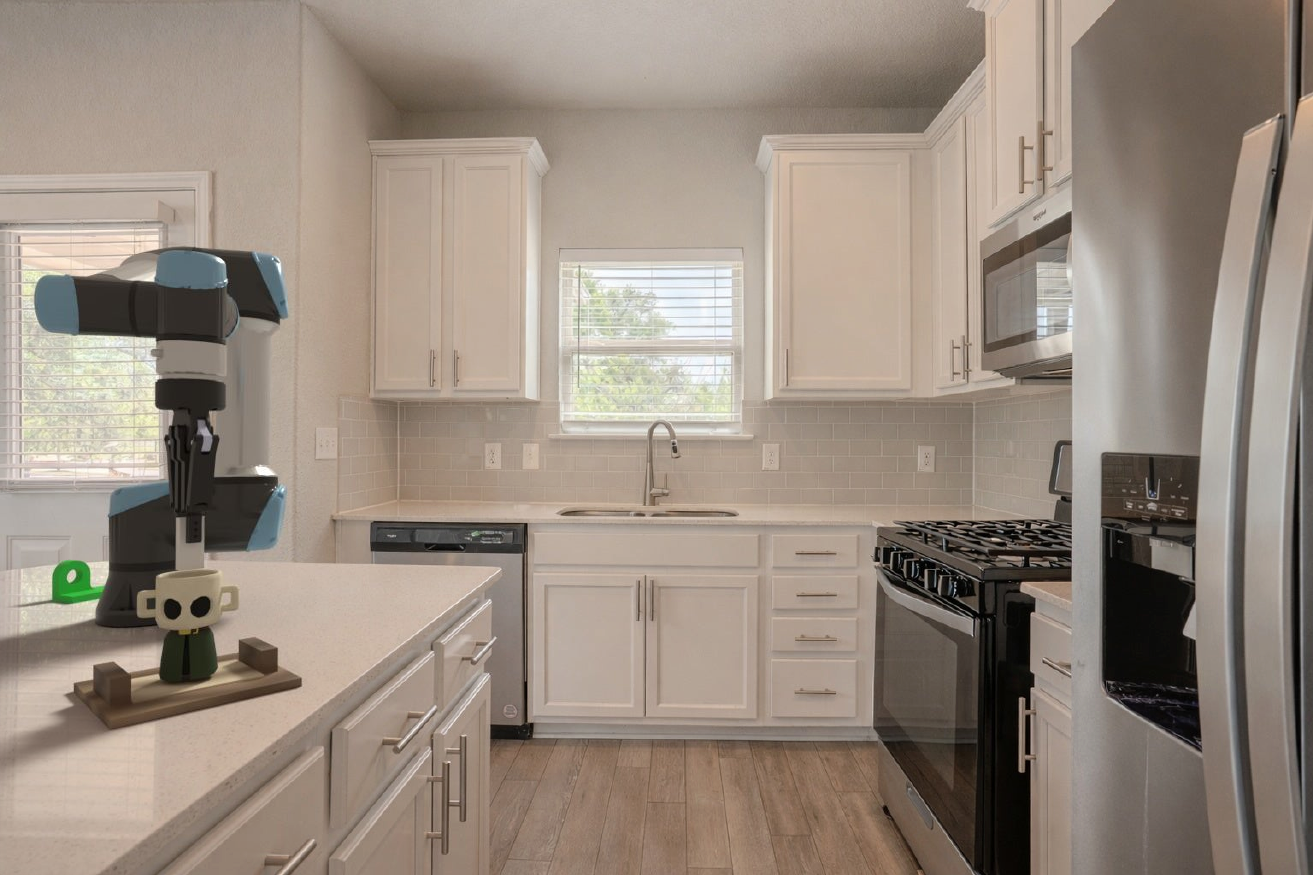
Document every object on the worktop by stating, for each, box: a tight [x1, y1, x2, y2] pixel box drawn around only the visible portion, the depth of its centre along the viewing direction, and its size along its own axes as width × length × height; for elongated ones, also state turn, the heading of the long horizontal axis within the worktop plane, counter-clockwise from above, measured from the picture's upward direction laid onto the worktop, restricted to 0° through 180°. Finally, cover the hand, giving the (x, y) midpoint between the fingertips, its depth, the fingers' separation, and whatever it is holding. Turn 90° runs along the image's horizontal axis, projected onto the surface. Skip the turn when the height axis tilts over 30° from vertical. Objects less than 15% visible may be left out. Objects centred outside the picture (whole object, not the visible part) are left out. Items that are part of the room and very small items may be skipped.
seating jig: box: [73, 636, 303, 730], centre depth 95 cm, size 18×20×4 cm
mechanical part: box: [51, 559, 105, 605], centre depth 148 cm, size 12×6×8 cm, turn 158°
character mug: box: [137, 568, 240, 681], centre depth 95 cm, size 11×7×13 cm, turn 115°
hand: (189, 568), depth 95 cm, fingers closed
